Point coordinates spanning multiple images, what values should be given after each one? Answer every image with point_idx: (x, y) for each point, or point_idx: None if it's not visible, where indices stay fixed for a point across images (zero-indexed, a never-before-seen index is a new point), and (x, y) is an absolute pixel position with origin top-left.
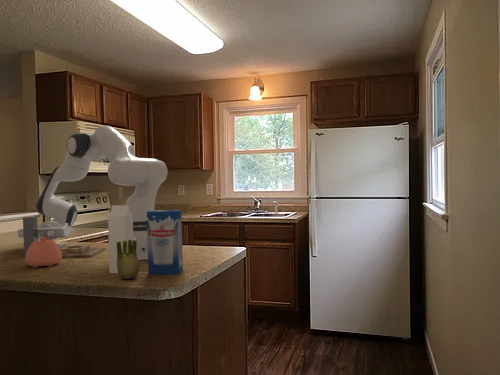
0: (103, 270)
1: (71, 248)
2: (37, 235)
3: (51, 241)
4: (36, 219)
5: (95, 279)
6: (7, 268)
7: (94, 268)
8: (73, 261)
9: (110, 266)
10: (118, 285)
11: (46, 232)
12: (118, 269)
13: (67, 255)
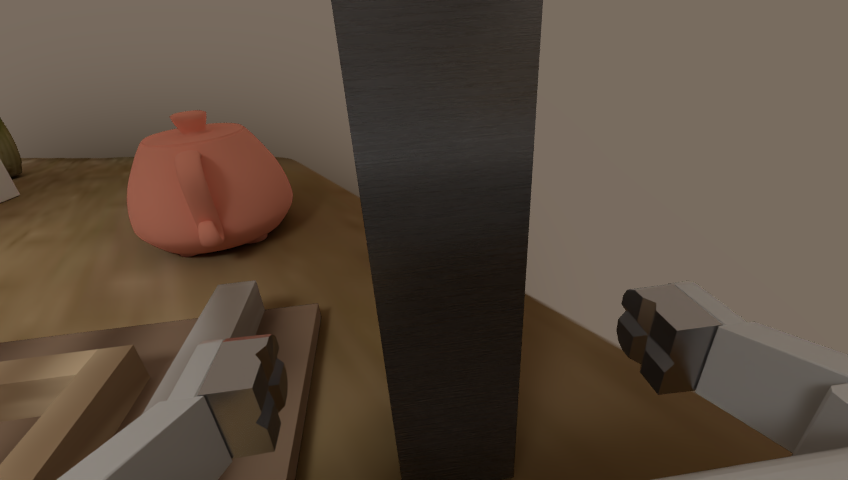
0: (20, 208)
1: (4, 367)
2: (377, 307)
3: (153, 136)
4: (338, 25)
5: (79, 173)
6: (354, 202)
7: (37, 218)
8: (82, 281)
9: (7, 176)
10: (49, 162)
11: (236, 340)
12: (17, 151)
13: (88, 332)
